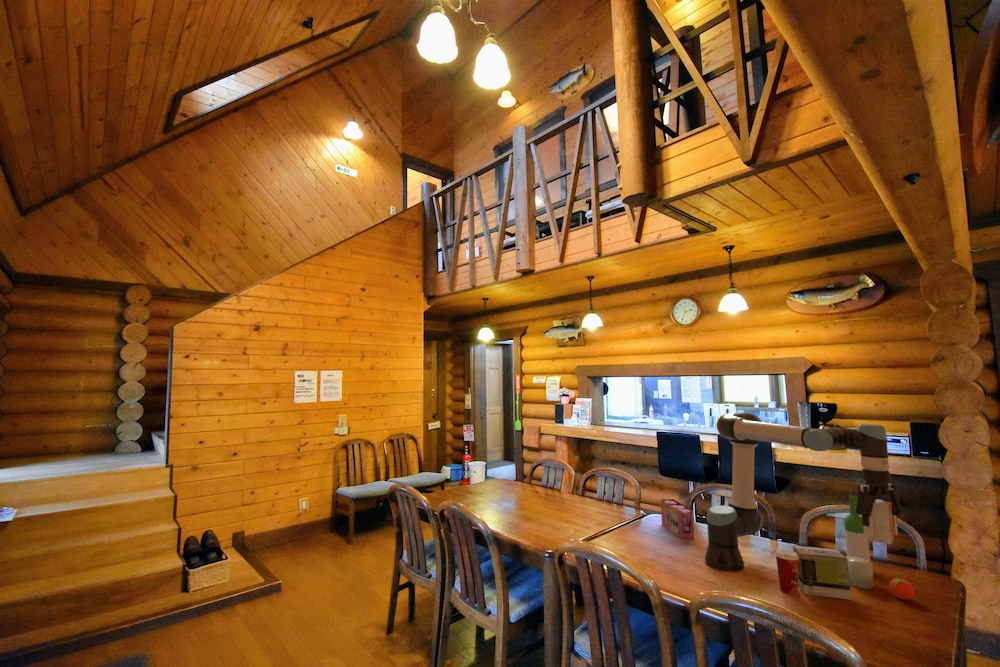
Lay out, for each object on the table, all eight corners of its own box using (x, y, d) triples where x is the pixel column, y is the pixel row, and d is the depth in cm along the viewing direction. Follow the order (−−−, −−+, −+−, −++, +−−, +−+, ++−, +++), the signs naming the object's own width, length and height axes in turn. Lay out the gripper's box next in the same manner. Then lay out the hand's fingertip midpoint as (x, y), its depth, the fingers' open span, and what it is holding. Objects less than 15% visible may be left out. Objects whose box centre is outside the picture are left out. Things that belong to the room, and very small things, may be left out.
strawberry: (907, 605, 157) (905, 584, 158) (884, 597, 163) (882, 576, 164) (920, 601, 160) (918, 580, 161) (896, 593, 166) (894, 573, 167)
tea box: (841, 589, 170) (837, 548, 171) (852, 601, 160) (848, 558, 162) (795, 583, 174) (792, 544, 176) (803, 594, 165) (800, 552, 167)
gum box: (696, 539, 225) (694, 511, 226) (680, 539, 224) (679, 511, 226) (675, 524, 249) (674, 499, 250) (661, 524, 248) (660, 499, 250)
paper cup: (801, 598, 162) (799, 557, 164) (777, 593, 166) (774, 553, 168) (801, 590, 169) (798, 551, 170) (777, 585, 173) (774, 547, 174)
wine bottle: (846, 563, 194) (840, 492, 197) (869, 567, 190) (862, 494, 193) (849, 570, 187) (843, 496, 191) (873, 574, 183) (866, 498, 187)
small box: (892, 545, 150) (888, 505, 151) (867, 540, 154) (864, 501, 156) (894, 539, 155) (891, 500, 157) (871, 535, 160) (868, 497, 161)
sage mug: (861, 590, 169) (859, 565, 170) (841, 581, 177) (839, 557, 178) (883, 587, 171) (881, 562, 172) (862, 578, 179) (860, 555, 180)
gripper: (860, 472, 151) (866, 540, 149) (911, 469, 156) (917, 536, 154) (839, 468, 159) (844, 533, 156) (888, 465, 164) (894, 529, 161)
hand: (880, 534), depth 155 cm, fingers closed on small box, 10 cm apart
